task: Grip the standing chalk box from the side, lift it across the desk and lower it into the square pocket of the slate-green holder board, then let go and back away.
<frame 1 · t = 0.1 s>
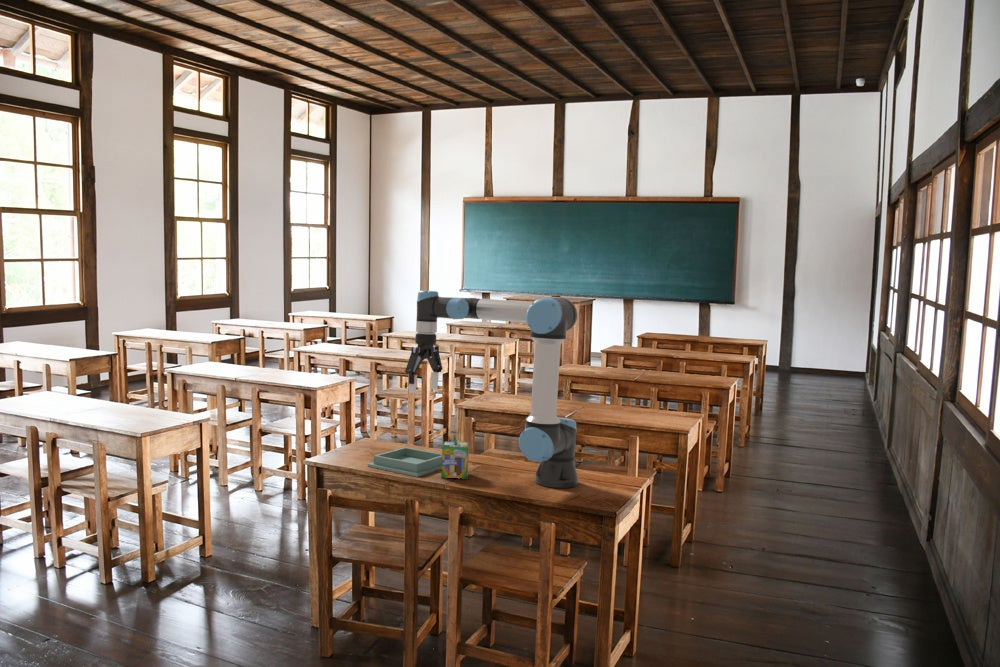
hand: (423, 391, 273), 28 cm above the table, tool pointing down, fingers open, 13 cm apart
chalk holder: (410, 466, 275), on the table
chalk box: (454, 476, 264), on the table
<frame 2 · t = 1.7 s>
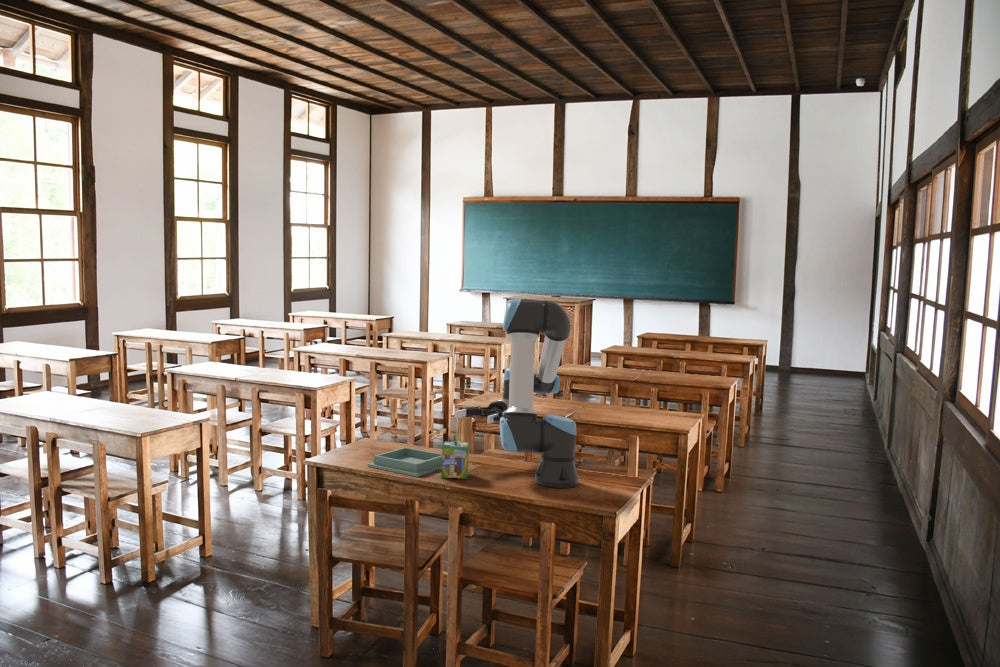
hand: (471, 417, 271), 20 cm above the table, tool horizontal, fingers open, 13 cm apart
nothing on the table moved.
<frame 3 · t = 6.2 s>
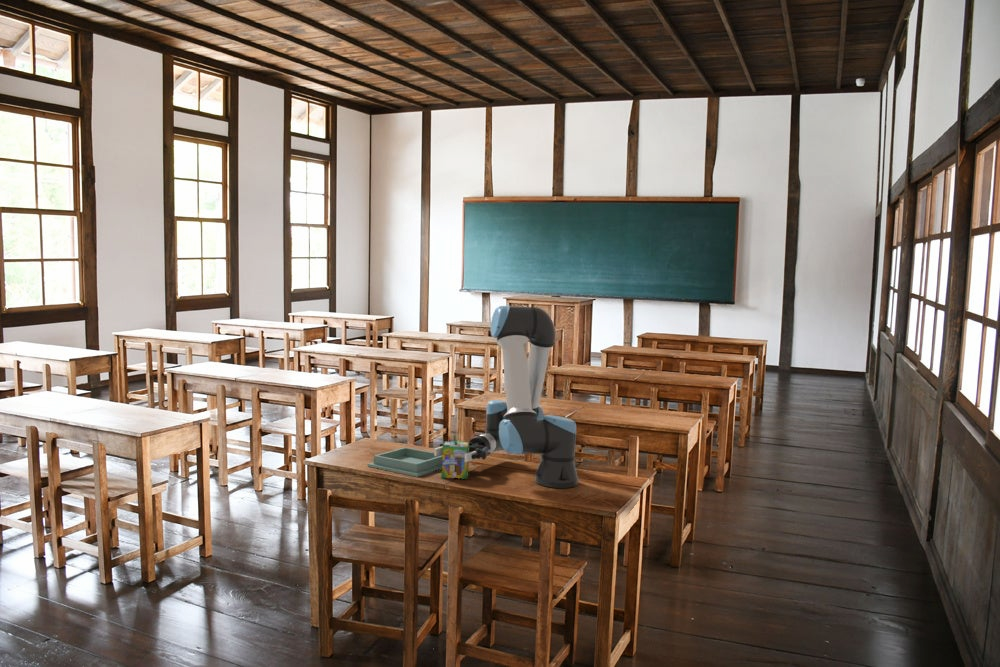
hand: (450, 455, 261), 8 cm above the table, tool horizontal, fingers closed on chalk box, 12 cm apart
chalk box: (454, 476, 264), on the table, touching gripper
when the fingers open (10 cm above the table, at t = 12.9 s): chalk box drops 1 cm, resting on chalk holder.
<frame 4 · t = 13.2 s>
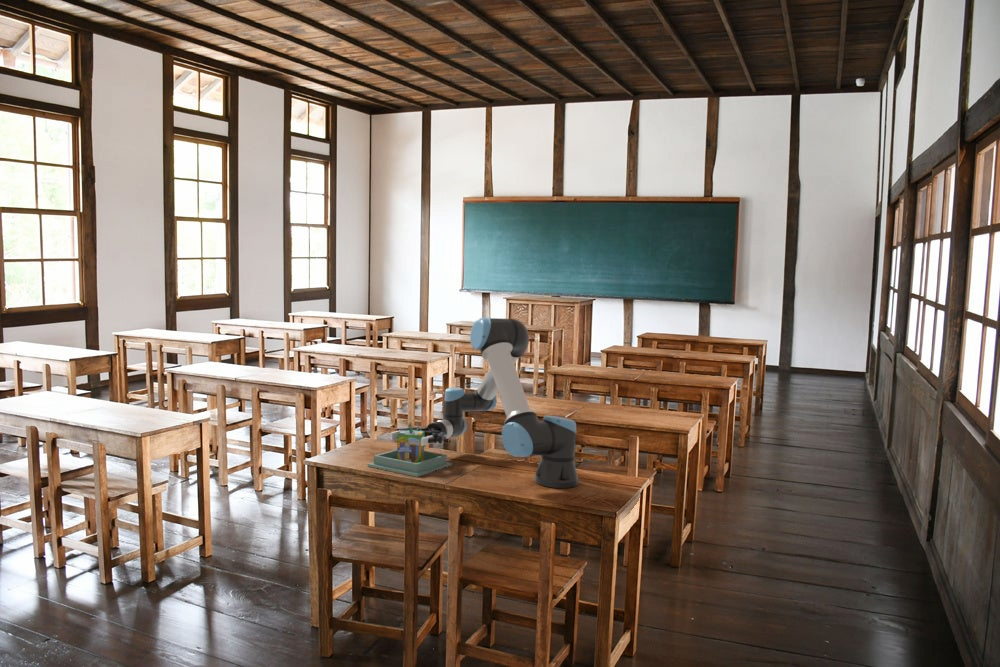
hand: (406, 439, 271), 10 cm above the table, tool horizontal, fingers open, 13 cm apart
chalk box: (410, 463, 275), point 1 cm above the table, touching chalk holder
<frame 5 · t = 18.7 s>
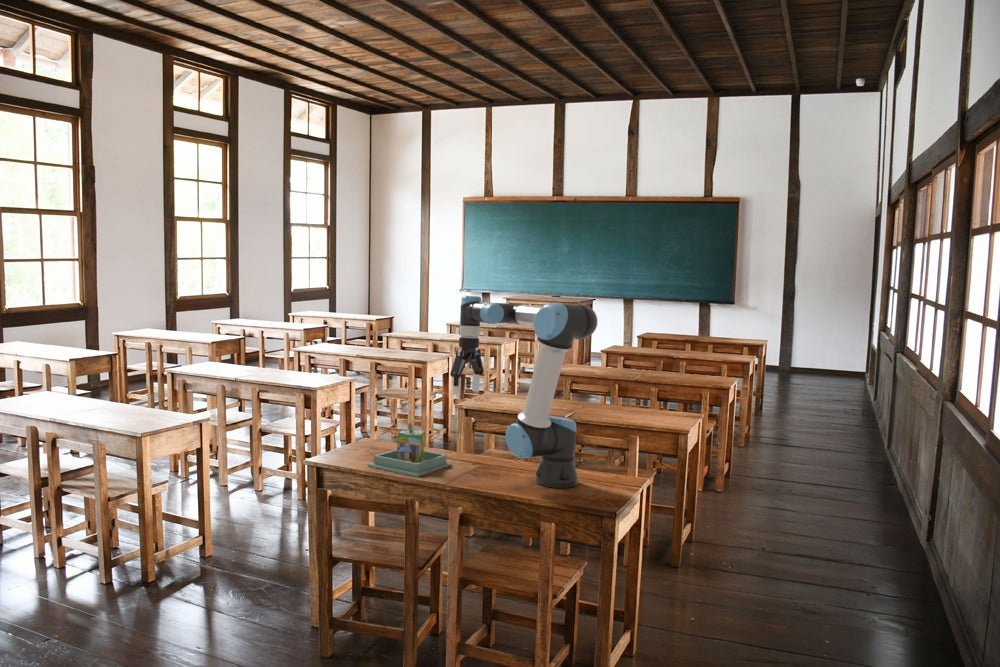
hand: (466, 393, 282), 27 cm above the table, tool pointing down, fingers open, 13 cm apart
nothing on the table moved.
at the end: chalk box inside the target area on the chalk holder (0.1 cm from its centre), point 0.8 cm above the chalk holder's base; chalk box tilted 0°; the gripper is holding nothing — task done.
